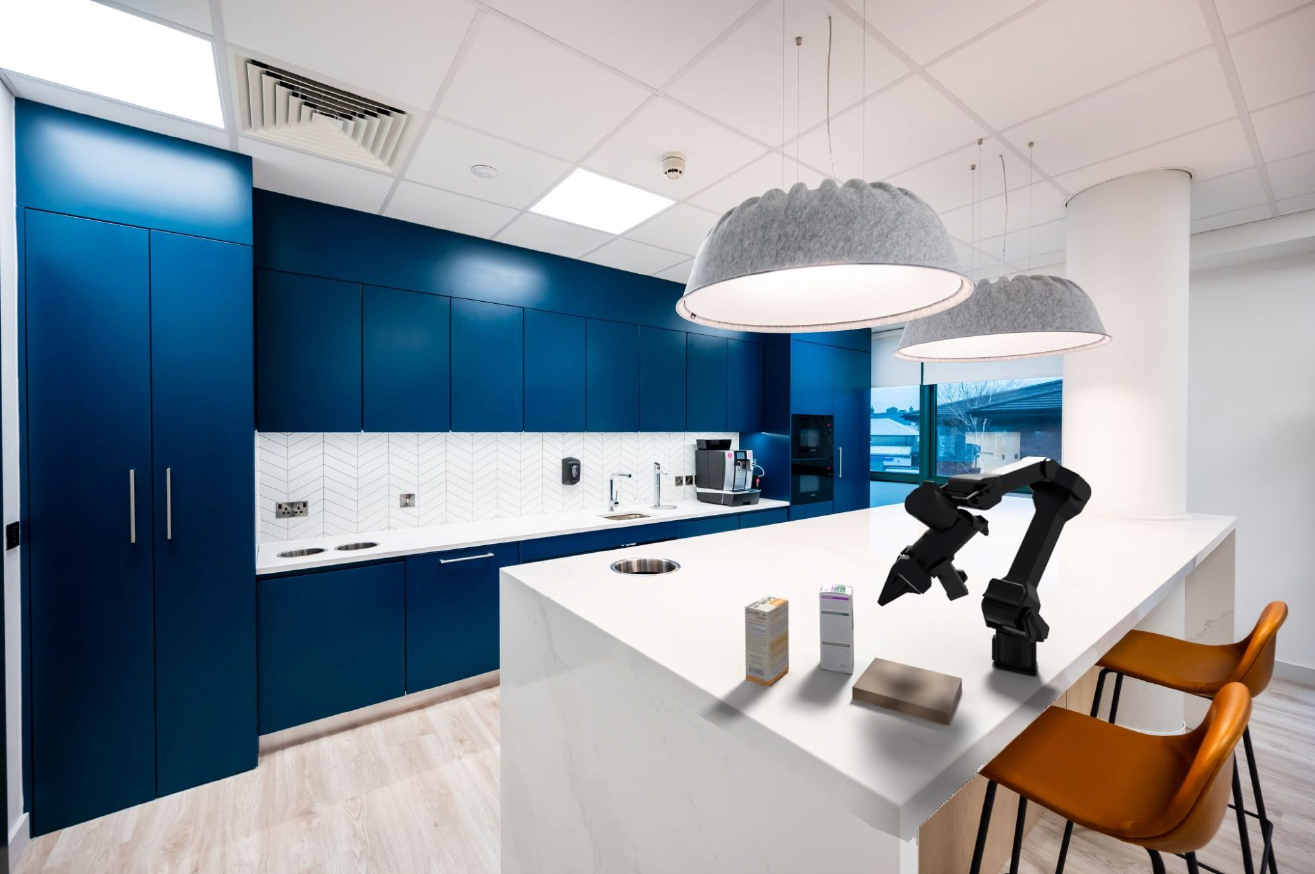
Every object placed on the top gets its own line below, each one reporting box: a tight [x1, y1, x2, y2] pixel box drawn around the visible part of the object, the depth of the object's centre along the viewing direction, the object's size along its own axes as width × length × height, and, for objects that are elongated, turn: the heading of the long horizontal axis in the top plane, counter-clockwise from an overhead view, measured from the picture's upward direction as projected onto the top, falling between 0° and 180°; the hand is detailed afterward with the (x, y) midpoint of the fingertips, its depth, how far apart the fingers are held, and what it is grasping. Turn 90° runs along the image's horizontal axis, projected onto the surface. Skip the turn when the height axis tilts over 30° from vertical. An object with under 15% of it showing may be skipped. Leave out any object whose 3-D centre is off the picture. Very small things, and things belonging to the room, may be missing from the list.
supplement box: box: [744, 595, 790, 687], centre depth 97 cm, size 8×5×13 cm, turn 141°
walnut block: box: [851, 657, 963, 727], centre depth 90 cm, size 14×14×2 cm
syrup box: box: [818, 583, 855, 675], centre depth 100 cm, size 6×6×14 cm
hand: (882, 598), depth 99 cm, fingers open, 9 cm apart
